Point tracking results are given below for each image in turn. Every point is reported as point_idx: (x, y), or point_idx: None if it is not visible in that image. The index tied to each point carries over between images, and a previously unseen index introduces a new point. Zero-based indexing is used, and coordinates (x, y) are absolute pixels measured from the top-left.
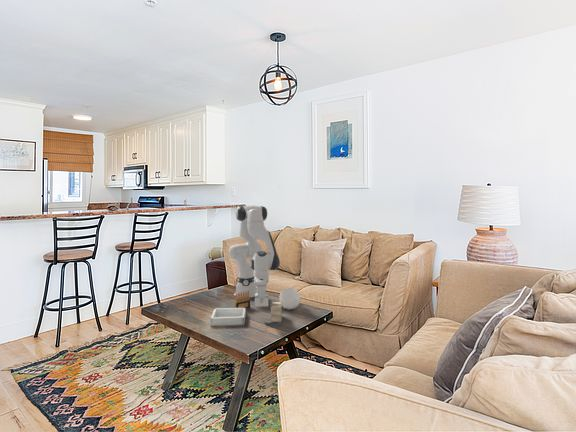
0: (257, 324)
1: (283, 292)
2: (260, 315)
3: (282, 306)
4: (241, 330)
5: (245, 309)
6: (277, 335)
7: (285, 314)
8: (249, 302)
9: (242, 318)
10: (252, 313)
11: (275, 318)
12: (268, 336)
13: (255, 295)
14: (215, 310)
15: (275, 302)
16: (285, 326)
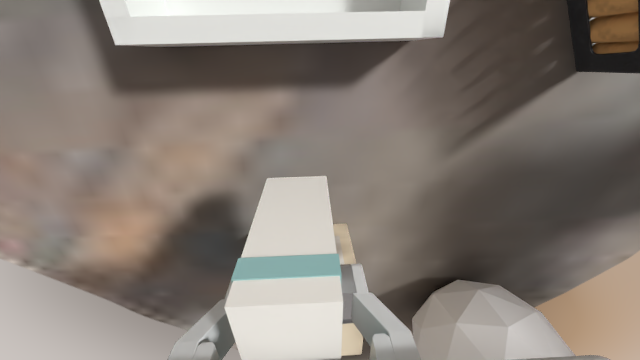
0: (199, 152)
1: None
2: (372, 162)
3: (457, 283)
4: (38, 31)
5: (412, 38)
6: (62, 260)
7: (366, 283)
8: (632, 67)
9: (116, 26)
10: (428, 100)
11: None
12: (24, 222)
13: (231, 308)
14: None
15: (350, 330)
16: (196, 286)
